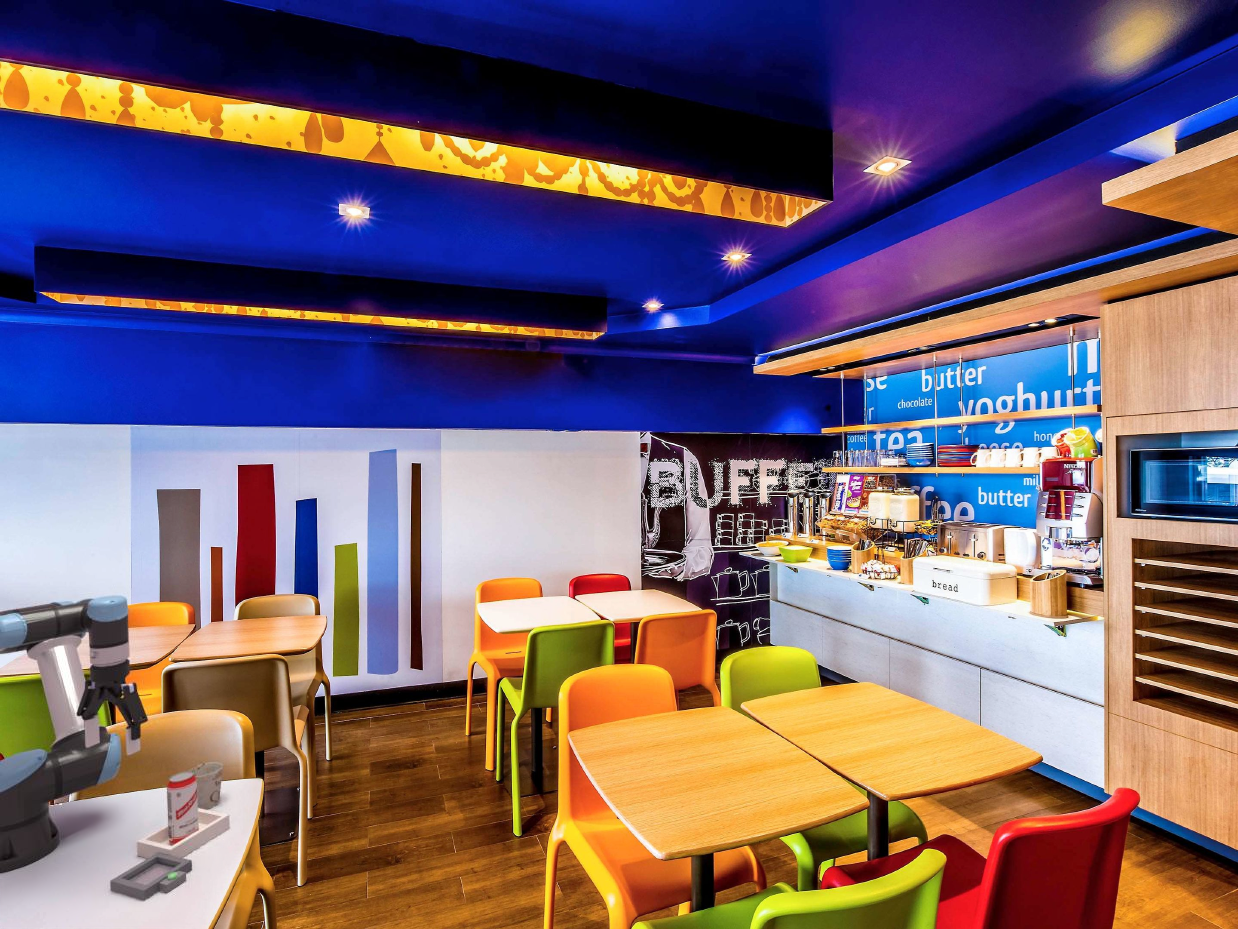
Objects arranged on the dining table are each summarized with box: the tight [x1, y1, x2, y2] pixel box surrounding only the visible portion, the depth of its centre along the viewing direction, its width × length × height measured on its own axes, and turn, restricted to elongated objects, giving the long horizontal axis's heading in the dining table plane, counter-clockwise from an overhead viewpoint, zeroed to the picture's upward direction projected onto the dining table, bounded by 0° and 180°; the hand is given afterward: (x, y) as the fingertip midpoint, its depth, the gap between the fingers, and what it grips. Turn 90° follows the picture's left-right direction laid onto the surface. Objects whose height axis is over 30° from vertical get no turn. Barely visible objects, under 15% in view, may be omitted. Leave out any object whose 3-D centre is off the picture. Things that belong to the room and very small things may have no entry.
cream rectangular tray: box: [136, 808, 231, 859], centre depth 162 cm, size 11×15×4 cm
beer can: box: [166, 770, 199, 845], centre depth 162 cm, size 6×6×16 cm
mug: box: [188, 761, 224, 810], centre depth 179 cm, size 8×13×10 cm, turn 78°
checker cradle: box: [109, 852, 193, 901], centre depth 147 cm, size 13×11×2 cm
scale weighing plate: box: [130, 863, 173, 885], centre depth 147 cm, size 7×7×1 cm
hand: (112, 748), depth 156 cm, fingers open, 13 cm apart
